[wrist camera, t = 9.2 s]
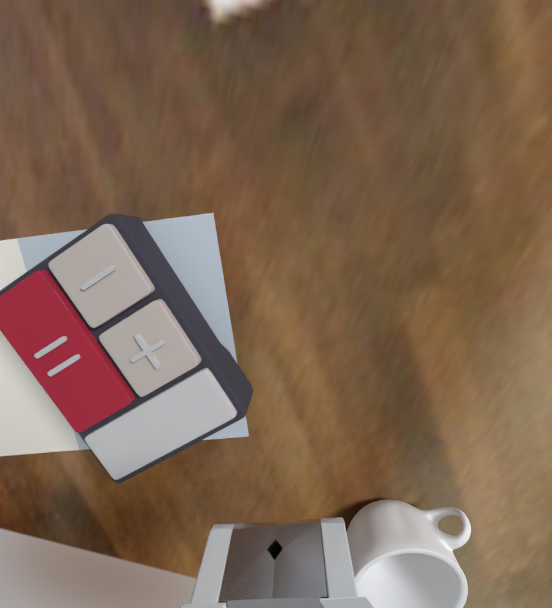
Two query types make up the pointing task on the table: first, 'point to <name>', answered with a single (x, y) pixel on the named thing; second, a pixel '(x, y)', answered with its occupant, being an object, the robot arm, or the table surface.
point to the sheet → (24, 386)
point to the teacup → (407, 556)
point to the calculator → (122, 348)
